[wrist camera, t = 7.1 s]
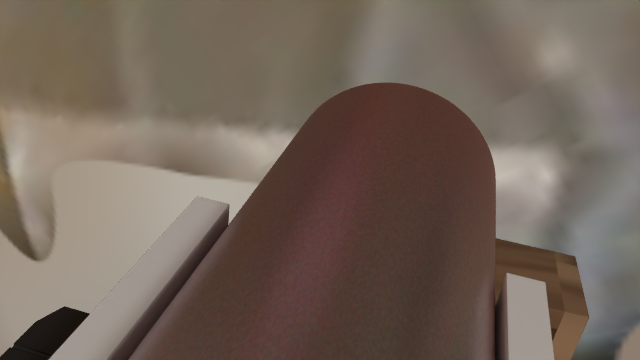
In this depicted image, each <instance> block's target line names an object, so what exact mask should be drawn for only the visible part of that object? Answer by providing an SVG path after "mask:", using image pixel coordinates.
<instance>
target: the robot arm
mask: <svg viewBox="0 0 640 360" xmlns="http://www.w3.org/2000/svg"><path fill="white" fill-rule="evenodd" d="M228 219H229V204H226V203H221V202H218V201H213V200H210V199H206V198H201V197H196V198H195V199H194V200H193V201H192V202H191V204H190V205H189V206H188V207H187V208H186V209H185V210H184V211H183V212H182V213H181V215H180V216H179V217H178V218H177V219H176V220H175V221H174V222H173V223H172V224H171V226H170V227H169V228H168V229H167V230H166V231H165V232H164V233H163V234H162V236H161V237H160V238H159V239H158V240H157V241H156V242H155V243H154V244H153V245H152V246H151V248H150V249H149V250H148V251H147V252H146V253H145V254H144V255H143V256H142V258H141V259H140V260H139V261H138V262H137V263H136V264H135V265H134V266H133V268H131V270H130V271H129V272H128V273H127V274H126V275H125V276H124V277H123V278H122V279H121V281H120V282H119V283H118V284H117V285H116V286H115V287H114V288H113V289H112V290H111V292H110V293H109V294H108V295H107V296H106V297H105V298H104V299H103V300H102V301H101V303H100V304H99V305H98V306H97V307H96V308H95V309H94V310H93V311H92V312H91V314H89V313H85V312H82V311H79V310H75V309H71V308H68V307H65V306H64V307H63V308H60V309H59V310H57V311H55V312H53V313H51V314H49V315H47V316H46V317H44V318H42V319H40V320H38V321H36V322H35V323H34V324H33V325H32V326H31V327H30V328H29V329H28V330H27V331H26V332H25V333H24V334H23V335H22V336H21V337H20V338H19V339H18V340H17V341H16V342H15V343H14V346H13V347H12V348H9V349H8V350H7V351H6V352H5V353H4V354H3V355H2V356H1V357H0V360H128V359H129V358H130V356H131V355H132V354H133V352H134V351H135V350H136V348H137V347H138V345H139V344H140V343H141V341H142V340H143V339H144V337H145V336H146V335H147V333H148V332H149V331H150V329H151V328H152V327H153V325H154V324H155V323H156V321H157V320H158V319H159V317H160V316H161V315H162V313H163V312H164V311H165V309H166V308H167V307H168V305H169V304H170V303H171V301H172V300H173V299H174V297H175V296H176V295H177V293H178V292H179V291H180V289H181V288H182V287H183V285H184V284H185V283H186V281H187V280H188V279H189V277H190V276H191V275H192V273H193V272H194V271H195V269H196V268H197V267H198V265H199V264H200V263H201V261H202V260H203V259H204V257H205V256H206V255H207V253H208V252H209V251H210V249H211V248H212V247H213V245H214V244H215V243H216V241H217V240H218V239H219V237H220V236H221V235H222V233H223V232H224V231H225V229H226V228H227V227H228ZM495 360H554V352H553V344H552V335H551V327H550V318H549V309H548V301H547V292H546V284H545V282H542V281H538V280H534V279H530V278H526V277H522V276H518V275H514V274H510V273H506V276H505V279H504V282H503V285H502V288H501V291H500V294H499V297H498V300H497V303H496V306H495Z"/></svg>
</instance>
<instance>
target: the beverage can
mask: <svg viewBox="0 0 640 360" xmlns="http://www.w3.org/2000/svg"><path fill="white" fill-rule="evenodd" d="M495 239H496V179H495V168H494V163H493V159H492V156H491V152H490V150H489V147H488V145H487V143H486V141H485V139H484V137H483V136H482V134H481V132H480V131H479V129H478V128H477V127H476V125H475V124H474V123H473V122H472V121H471V120H470V118H469V117H468V116H467V115H466V114H465V113H464V112H462V111H461V110H460V109H459V108H458V107H456V106H455V105H454V104H452V103H451V102H449V101H448V100H446V99H444V98H443V97H441V96H439V95H437V94H435V93H433V92H430V91H428V90H425V89H422V88H419V87H415V86H411V85H406V84H400V83H373V84H366V85H361V86H357V87H354V88H351V89H348V90H346V91H343V92H341V93H339V94H337V95H335V96H334V97H332V98H330V99H329V100H327V101H326V102H325V103H323V104H322V105H321V106H320V107H319V108H317V109H316V110H315V111H314V113H313V114H312V115H311V116H310V117H309V118H308V120H307V121H306V122H305V124H304V125H303V126H302V128H301V129H300V130H299V132H298V133H297V134H296V136H295V137H294V138H293V140H292V141H291V142H290V144H289V145H288V146H287V148H286V149H285V150H284V152H283V153H282V154H281V156H280V157H279V158H278V160H277V161H276V162H275V164H274V165H273V166H272V168H271V169H270V170H269V172H268V173H267V174H266V176H265V177H264V178H263V180H262V181H261V182H260V184H259V185H258V186H257V188H256V189H255V190H254V192H253V193H252V194H251V196H250V197H249V199H248V200H247V201H246V202H245V204H244V205H243V206H242V208H241V209H240V210H239V212H238V213H237V214H236V216H235V217H234V218H233V220H232V221H231V223H230V224H229V225H228V227H227V228H226V229H225V231H224V232H223V233H222V235H221V236H220V237H219V239H218V240H217V241H216V243H215V244H214V245H213V247H212V248H211V249H210V251H209V252H208V253H207V255H206V256H205V257H204V259H203V260H202V261H201V263H200V264H199V265H198V267H197V268H196V269H195V271H194V272H193V273H192V275H191V276H190V277H189V279H188V280H187V281H186V283H185V284H184V285H183V287H182V288H181V289H180V291H179V292H178V293H177V295H176V296H175V297H174V299H173V300H172V301H171V303H170V304H169V305H168V307H167V308H166V309H165V311H164V312H163V313H162V315H161V316H160V317H159V319H158V320H157V321H156V323H155V324H154V325H153V327H152V328H151V329H150V331H149V332H148V333H147V335H146V336H145V337H144V339H143V340H142V341H141V343H140V344H139V345H138V347H137V348H136V350H135V351H134V352H133V354H132V355H131V356H130V358H129V359H128V360H495Z"/></svg>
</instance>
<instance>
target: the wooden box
mask: <svg viewBox="0 0 640 360" xmlns="http://www.w3.org/2000/svg"><path fill="white" fill-rule="evenodd" d="M506 273H510V274H514V275H518V276H522V277H526V278H530V279H534V280H538V281H542V282H545V284H546V292H547V301H548V309H549V318H550V327H551V335H552V344H553V352H554V360H571V357H572V355H573V353H574V351H575V348H576V346H577V344H578V342H579V340H580V337H581V335H582V333H583V331H584V328H585V326H586V324H587V322H588V319H589V314H588V310H587V306H586V301H585V297H584V293H583V288H582V284H581V280H580V275H579V271H578V267H577V262H576V258H575V257H574V256H570V255H566V254H561V253H557V252H553V251H548V250H544V249H539V248H535V247H531V246H526V245H522V244H518V243H513V242H509V241H505V240H500V239H495V306H496V303H497V300H498V297H499V294H500V291H501V288H502V285H503V282H504V279H505V276H506Z"/></svg>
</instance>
